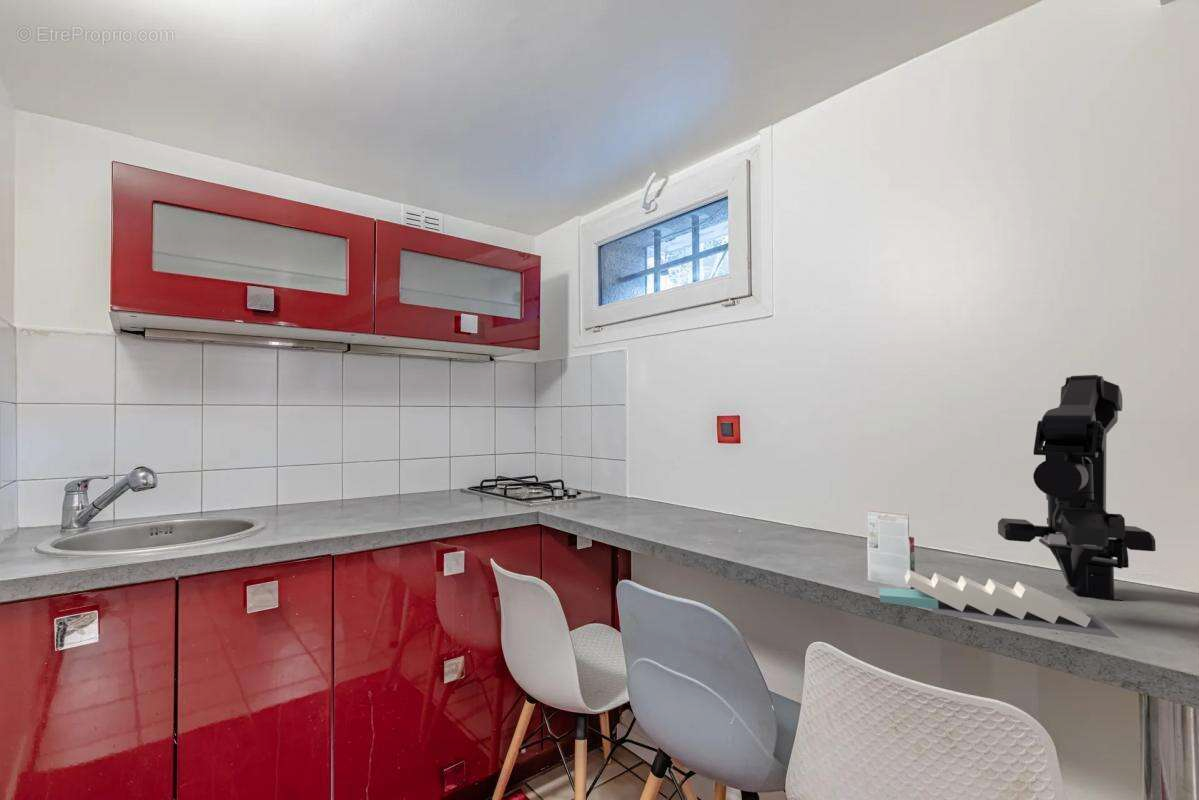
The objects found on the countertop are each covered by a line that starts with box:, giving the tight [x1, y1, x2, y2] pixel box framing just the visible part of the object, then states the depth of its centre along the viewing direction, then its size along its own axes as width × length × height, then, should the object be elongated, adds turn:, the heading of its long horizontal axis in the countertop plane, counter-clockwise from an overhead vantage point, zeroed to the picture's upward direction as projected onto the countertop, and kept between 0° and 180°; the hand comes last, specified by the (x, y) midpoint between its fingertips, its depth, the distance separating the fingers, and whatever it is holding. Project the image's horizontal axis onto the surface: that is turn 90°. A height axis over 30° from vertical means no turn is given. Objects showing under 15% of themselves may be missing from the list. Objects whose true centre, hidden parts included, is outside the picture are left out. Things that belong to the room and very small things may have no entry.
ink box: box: [866, 510, 916, 590], centre depth 109 cm, size 4×8×15 cm, turn 47°
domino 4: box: [957, 574, 1027, 620], centre depth 93 cm, size 2×5×9 cm
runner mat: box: [931, 600, 1120, 639], centre depth 92 cm, size 10×24×1 cm, turn 65°
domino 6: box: [1012, 580, 1091, 627], centre depth 90 cm, size 2×5×9 cm
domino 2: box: [905, 569, 966, 611], centre depth 97 cm, size 2×5×9 cm
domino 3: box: [930, 572, 996, 616], centre depth 95 cm, size 2×5×9 cm
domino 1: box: [878, 587, 939, 610], centre depth 99 cm, size 2×5×9 cm
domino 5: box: [984, 578, 1059, 624], centre depth 92 cm, size 2×5×9 cm
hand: (1072, 586), depth 89 cm, fingers closed
